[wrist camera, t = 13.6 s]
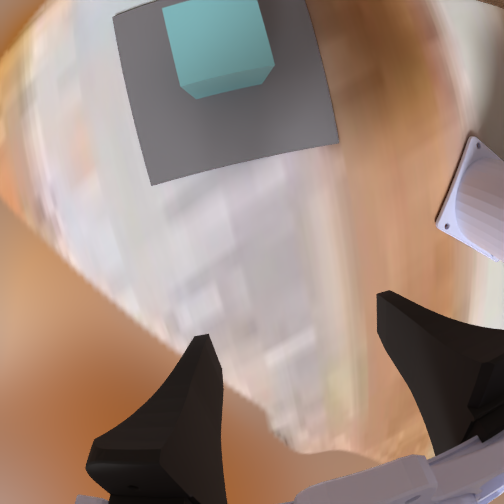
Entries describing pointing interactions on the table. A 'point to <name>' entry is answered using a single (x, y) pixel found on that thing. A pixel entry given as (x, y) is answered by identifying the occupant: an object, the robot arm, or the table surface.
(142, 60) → the charcoal mat
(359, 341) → the table surface
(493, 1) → the walnut box
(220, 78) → the teal block
